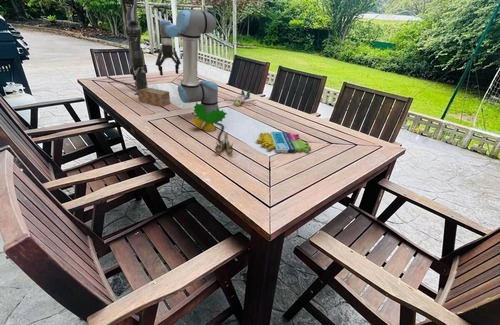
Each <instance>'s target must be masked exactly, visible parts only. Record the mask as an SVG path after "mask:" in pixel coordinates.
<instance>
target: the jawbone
mask: <svg viewBox="0 0 500 325" xmlns="http://www.w3.org/2000/svg"><path fill="white" fill-rule="evenodd" d="M223 135H224V136H223V140H222V139H221V140H220V141H221V143H220V144H218V142H215V144H216V146H215V148H214V149H215V152H214V154H215V155H217V156H218V155H220V153H221V152H223V151H224V150H226V152H227V153H228V155H229V156H233V155H234V154H233V153H234V148H233V144H234V143H230V140H228V139H229V138H228V137H229V136H228V135H229V133H228V131H226V132H224V134H223Z"/></svg>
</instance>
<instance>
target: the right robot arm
mask: <svg viewBox="0 0 500 325" xmlns="http://www.w3.org/2000/svg"><path fill="white" fill-rule="evenodd" d="M216 28H217V19H216V18H215V16H214V15H213V14H212V13H210V12H209V11H206V10H194V9H193V10H192V9H181V10H179V11H178V13H177V15H176V19H175V24H171V21H170V20H159V31H160V33H159V34H160V41H161V51H158V55H157V58H156V62H155V64H154V65H155V66H157V67H158V68H157V69H158V71H159V75H160V76H162V77H163V76H164V75H163V74H164V73H163V72H164V71H163V66H162V65H163V63H165V60H166V59H171V60H172V62H174V67H175V74H176V75H179V69H180V65H181V64H182V79H181V80H182V81H181V80H180V84H178V85H177V93H178V97H179V99H180V101H181V102H182V103H184V104H192V103H196V102H197V103H200V104H201V106H204V109H206V112H208V113H211V112H212V110H214V111H216V110H217V109H219V111H221V110H220V108H219V102H218V99H219V98H218V97H219V88H218V84H217V83H216V82H215V81H211V80H199V82H200V83H199V82H198V80H197V79H198V73H197V72H198V54H199V53H198V51H199V50H198V49H199V44H198V43H199V40H200V39H201V36H202V34H203V35H206V34H207V35H208V34H211V33H214V32H215V31H216ZM173 38H181V40H182V63H181V60H180V58H179V56H178V53H177V52H178V51H176V50H173ZM208 113H207V115H208ZM215 124H216V125H219V126H221V127H222V128H221V131H220V132H219V134H218V137H217V139H218V140H217V141H218V142H219V143H220V144H221V141H222V140H221V139H220V137H221V135H222V133H223V131H224V128H225V126H224V124H222V123H220V122H218V123H215Z"/></svg>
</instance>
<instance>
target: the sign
mask: <svg viewBox="0 0 500 325" xmlns="http://www.w3.org/2000/svg"><path fill="white" fill-rule="evenodd" d="M299 136H300V135H299V134H298V133H296V134H294V133H291V132H287V131H270V132H264V133H263V132H260V133H259V139H258V138H257V139H256V143H257V144H261V148H263V147H264V148H265V149H267V151H268V152H271V151H272V150H273V149H275V152H276V153H283V154H285V153H287V154H288V153H290V154H293V153H296V152H298V153H301V152H305V153H310V151H311V150H312V149H311V148H312V146H309V142H304V141H303V139H302V138H299Z"/></svg>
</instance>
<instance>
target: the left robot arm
mask: <svg viewBox="0 0 500 325" xmlns="http://www.w3.org/2000/svg"><path fill="white" fill-rule="evenodd" d="M120 4H121V7H122V13H123V19H124V26H125V29H124V34H125V35H126V38H127V43H128V52H129V59H130V60H131V64H132V65H130V66H129V74H130V75H131V76H132V79H133V81H134V85H133V84H131V83H128V82H125V81H124V82H123V81H120V80H117V79H114V78H113V77H110V76H109V75H107V76H106V78H109V79H111V80H113V81H115V82H117V83H121V84H124V85H127V86H131V87H133V88H136V91H137V92H138V91H139V90H141V89H145V88H149V86H148V85H149V84H148V81H147V73H148V67H147V64H146V63H145V55H144V54H145V53H144V51H143V50H142V48H141V47H142V46H141V38H142V29H141V27H139V24H138V16H137V15H138V14H137V13H138V12H137V11H138V1H137V0H120ZM127 6H130V7H129V9H128V7H127Z"/></svg>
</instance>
